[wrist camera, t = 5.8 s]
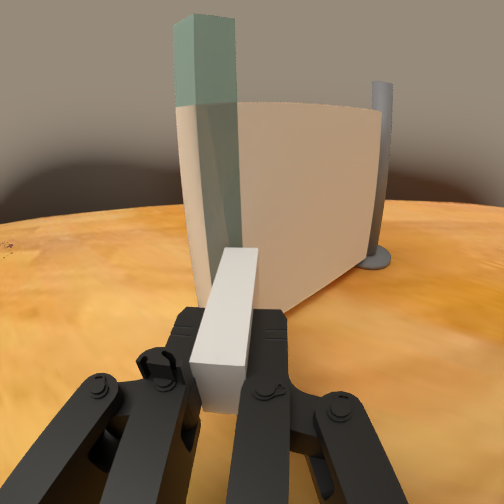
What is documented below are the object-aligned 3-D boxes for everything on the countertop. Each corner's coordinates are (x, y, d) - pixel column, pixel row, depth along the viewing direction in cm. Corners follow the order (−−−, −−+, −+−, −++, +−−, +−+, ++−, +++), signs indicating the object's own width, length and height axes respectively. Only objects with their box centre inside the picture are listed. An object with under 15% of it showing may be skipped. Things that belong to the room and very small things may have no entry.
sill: (381, 245, 29) (382, 241, 29) (396, 269, 25) (397, 266, 25) (200, 242, 31) (200, 238, 31) (188, 266, 27) (187, 262, 26)
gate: (364, 245, 28) (377, 69, 20) (379, 251, 27) (395, 70, 19) (204, 339, 18) (173, 25, 9) (221, 355, 16) (193, 13, 8)
